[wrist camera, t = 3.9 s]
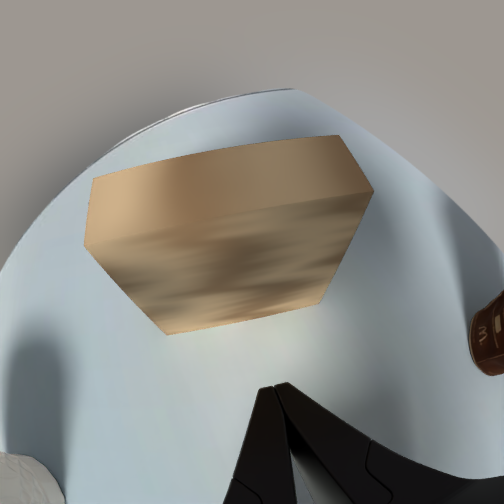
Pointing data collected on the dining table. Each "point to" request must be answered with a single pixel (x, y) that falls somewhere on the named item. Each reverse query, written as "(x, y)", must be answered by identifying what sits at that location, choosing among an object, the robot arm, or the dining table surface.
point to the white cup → (27, 481)
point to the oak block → (228, 230)
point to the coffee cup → (488, 337)
